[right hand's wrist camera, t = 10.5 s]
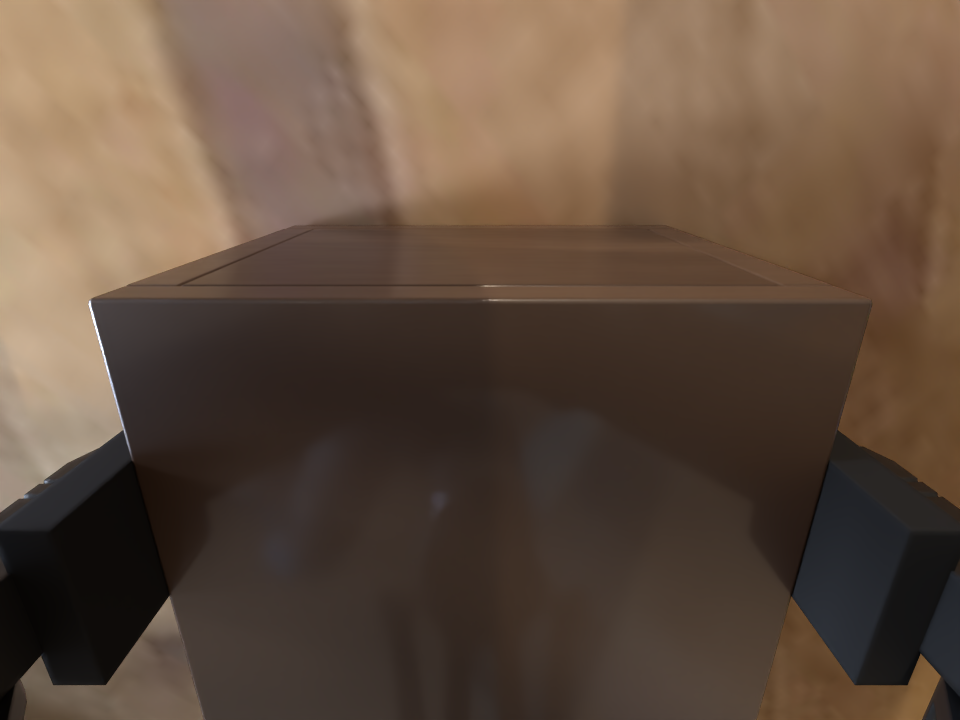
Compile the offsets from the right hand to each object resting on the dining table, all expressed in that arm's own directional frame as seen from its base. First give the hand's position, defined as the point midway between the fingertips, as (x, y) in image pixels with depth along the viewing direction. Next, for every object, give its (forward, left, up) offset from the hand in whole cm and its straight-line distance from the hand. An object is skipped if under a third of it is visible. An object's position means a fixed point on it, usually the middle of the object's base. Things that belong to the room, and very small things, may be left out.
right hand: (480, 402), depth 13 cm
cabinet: (0, -5, -4) cm, 6 cm away
